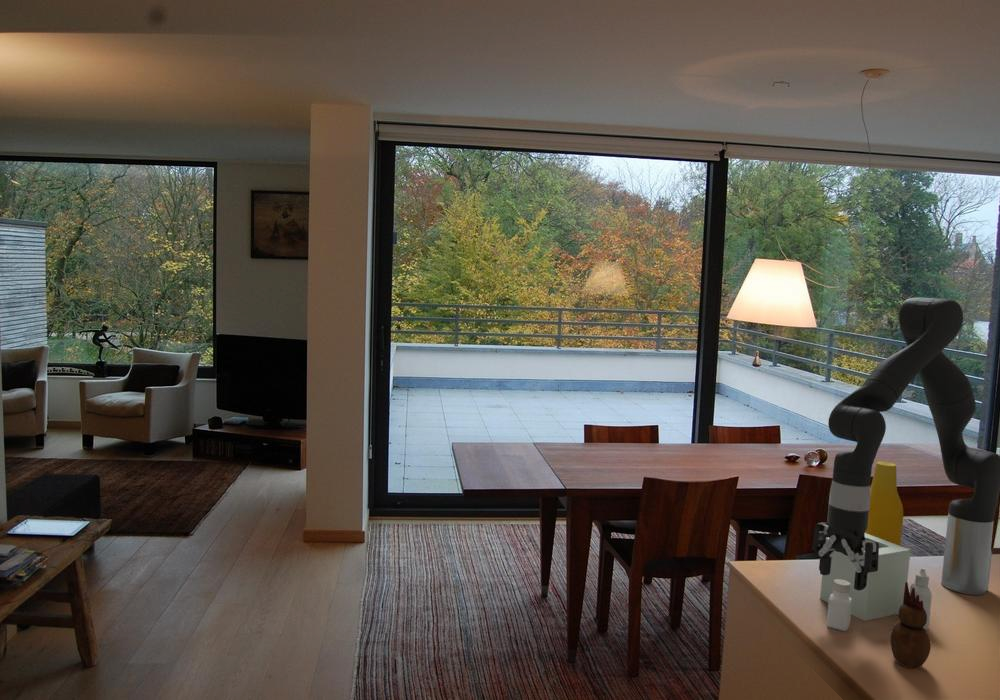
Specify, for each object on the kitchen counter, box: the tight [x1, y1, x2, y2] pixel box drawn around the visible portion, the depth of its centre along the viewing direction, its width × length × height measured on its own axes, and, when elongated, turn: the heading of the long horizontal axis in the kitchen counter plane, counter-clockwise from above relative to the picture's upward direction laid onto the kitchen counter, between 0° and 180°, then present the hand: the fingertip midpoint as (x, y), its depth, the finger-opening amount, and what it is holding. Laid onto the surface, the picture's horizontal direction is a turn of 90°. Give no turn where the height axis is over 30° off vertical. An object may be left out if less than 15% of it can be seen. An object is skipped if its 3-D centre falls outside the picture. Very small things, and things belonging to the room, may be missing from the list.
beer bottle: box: [865, 461, 904, 546], centre depth 187 cm, size 9×9×29 cm
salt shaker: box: [826, 579, 852, 632], centre depth 163 cm, size 4×4×10 cm
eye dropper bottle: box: [909, 567, 933, 630], centre depth 166 cm, size 4×6×12 cm
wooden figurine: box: [889, 581, 932, 669], centre depth 148 cm, size 7×6×15 cm
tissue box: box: [819, 533, 911, 622], centre depth 174 cm, size 12×12×14 cm
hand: (841, 581), depth 162 cm, fingers open, 8 cm apart
